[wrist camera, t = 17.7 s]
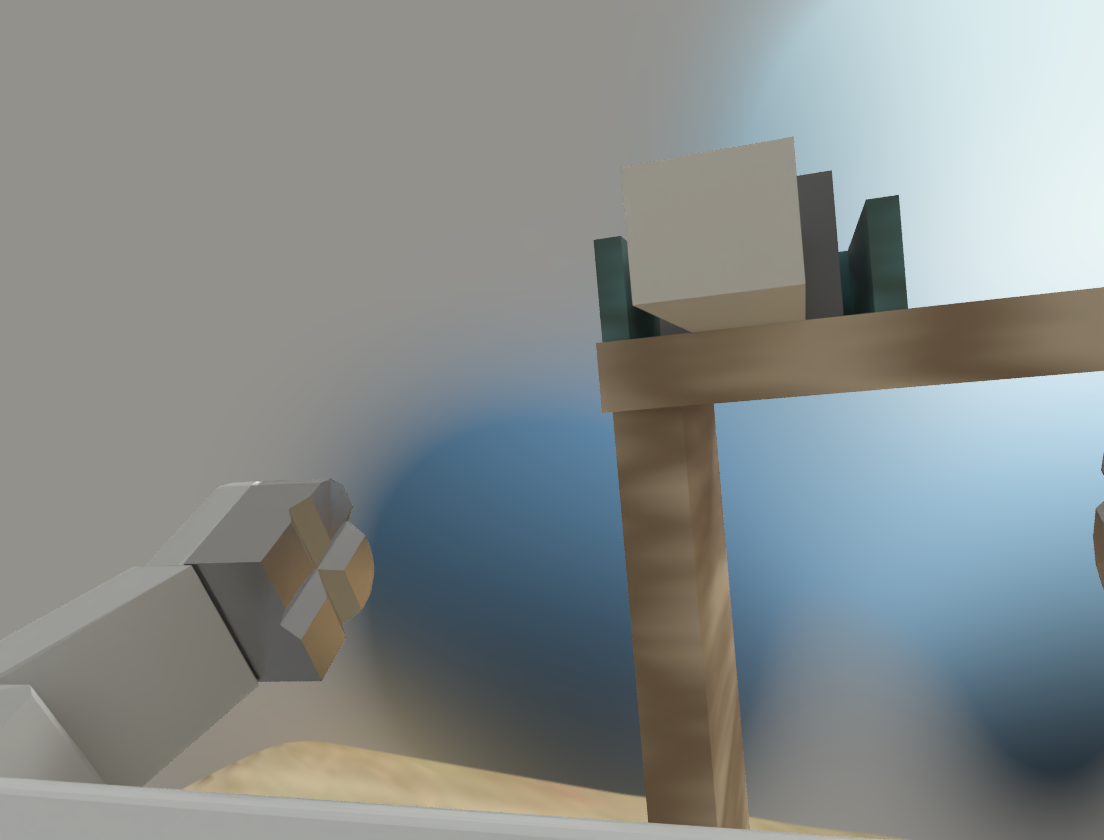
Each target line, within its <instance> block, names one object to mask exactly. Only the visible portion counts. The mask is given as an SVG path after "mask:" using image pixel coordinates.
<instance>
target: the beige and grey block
mask: <svg viewBox="0 0 1104 840" xmlns="http://www.w3.org/2000/svg"><path fill="white" fill-rule="evenodd" d="M621 176H622V188H623V200H624V212H625V223H626V235H627V247H628V258H629V270H630V281H631V293H632V305H633V306H635V307H638V308H640V309H642V310H644V311H646V312H648V313H651V314H653V315H655V316H657V317H659V320H660V332H661V336H666V335H675V334H684V333H693V332H702V331H711V330H720V329H729V328H738V327H748V326H757V325H766V324H775V323H784V322H793V321H802V320H811V319H820V318H829V317H838V316H844V314H843V302H842V290H841V278H840V266H839V253H838V241H837V229H836V217H835V205H834V193H833V181H832V171H825V172H819V173H813V174H807V175H800V176H797V175H796V163H795V152H794V140H793V137H789V138H784V139H778V140H772V141H767V142H761V143H755V144H749V145H743V146H738V147H732V148H726V149H720V150H715V151H709V152H703V153H698V154H692V155H687V156H680V157H675V158H669V159H664V160H657V161H652V162H646V163H640V164H635V165H629V166H623V167H621Z"/></svg>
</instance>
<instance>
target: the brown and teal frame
mask: <svg viewBox="0 0 1104 840" xmlns="http://www.w3.org/2000/svg"><path fill="white" fill-rule="evenodd" d="M901 231H902V230H901V218H900V205H899V195H895V196H889V197H882V198H875V199H868V200H866V201H865V204H864V207H863V210H862V212H861V215H860V218H859V221H858V224H857V226H856V229H855V232H854V235H853V238H852V241H851V244H850V246H849V249H848V251H843V252H838V253H839V266H840V278H841V290H842V302H843V314H844V316H838V317H829V318H820V319H811V320H802V321H793V322H784V323H775V324H766V325H757V326H748V327H738V328H729V329H720V330H711V331H702V332H693V333H684V334H675V335H666V336H661V332H660V320H659V317H657V316H655V315H653V314H651V313H648V312H646V311H644V310H642V309H640V308H638V307H635V306H633V305H632V293H631V281H630V270H629V258H628V247H627V241H626V240H625V239H624V238H622V237H621V236H618V237H611V238H605V239H597V240H594V248H595V261H596V271H597V283H598V295H599V307H600V318H601V330H602V341H603V342H602V343H596V347H597V359H598V371H599V382H600V394H601V405H602V413H606V412H613V420H614V432H615V443H616V455H617V466H618V477H619V489H620V501H621V513H622V524H623V536H624V546H625V559H626V570H627V582H628V593H629V604H630V616H631V628H632V639H633V651H634V662H635V674H636V685H637V695H638V696H637V697H638V707H639V720H640V731H641V743H642V755H643V766H644V778H645V789H646V801H647V812H648V823H661V824H675V825H689V826H703V827H718V828H732V829H746V830H750V826H749V815H748V802H747V791H746V779H745V767H744V755H743V743H742V732H741V720H740V708H739V697H738V685H737V673H736V661H735V650H734V637H733V626H732V615H731V602H730V590H729V578H728V567H727V555H726V543H725V532H724V521H723V508H722V496H721V485H720V472H719V461H718V449H717V437H716V425H715V413H714V403H725V402H737V401H749V400H761V399H773V398H783V397H784V398H785V397H797V396H809V395H821V394H832V393H844V392H856V391H868V390H880V389H891V388H904V387H916V386H927V385H939V384H951V383H962V382H974V381H987V380H999V379H1011V378H1022V377H1034V376H1045V375H1058V374H1069V373H1082V372H1093V371H1104V287H1103V288H1093V289H1084V290H1075V291H1066V292H1057V293H1049V294H1040V295H1029V296H1020V297H1011V298H1003V299H994V300H985V301H976V302H966V303H957V304H948V305H939V306H929V307H920V308H912V309H908V304H907V291H906V279H905V267H904V254H903V242H902V232H901Z"/></svg>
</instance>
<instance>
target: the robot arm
mask: <svg viewBox="0 0 1104 840" xmlns="http://www.w3.org/2000/svg"><path fill="white" fill-rule="evenodd" d="M1101 471H1102V473H1103V475H1104V456H1103V462H1102V468H1101ZM352 509H353V505H352V503H351V501H350V499H349V497H348V494H347V492H346V490H345V488H344V486H343V485H342V484H341V483H338V482H336V481H335V480H332V479H310V480H282V481H263V482H258V481H254V482H240V483H230V484H226V485H223V486H219V487H217V488H216V489H215V491H213V492H212V494H211V495H210V496H209V497H208V498H207V499H206V500H205V501H204V502H203V503H202V504H201V505H200V507H199V508H198V509H197V510H196V511H195V512H194V513H193V514H192V515H191V516H190V517H189V518H188V519H187V521H186V522H185V523H184V524H183V525H182V526H181V527H180V528H179V529H178V530H177V531H176V532H175V533H174V534H173V536H172V537H171V538H170V539H169V540H168V541H167V542H166V543H165V544H164V545H163V546H162V547H161V548H160V550H159V551H158V552H157V553H156V554H155V555H154V556H153V557H152V558H151V559H150V560H149V562H148V563H147V564H146V565H145V566H140V567H132V568H130V569H128V570H127V571H125V572H123V573H121V574H119V575H117V576H116V577H114V578H112V579H111V580H108V581H107V582H105V583H103V584H101V585H99V586H97V587H96V588H94V589H92V590H90V591H88V592H87V593H85V594H83V595H81V596H79V597H77V598H76V599H74V600H72V601H70V602H69V603H67V604H65V605H63V606H61V607H59V608H58V609H56V610H54V611H52V612H50V613H48V614H47V615H45V616H43V617H41V618H39V619H37V620H36V621H34V622H32V623H31V624H28V625H26V626H25V627H23V628H21V629H19V630H17V631H16V632H14V633H12V634H10V635H8V636H7V637H5V638H3V639H1V640H0V840H887V839H873V838H859V837H845V836H831V835H817V834H802V833H788V832H774V831H760V830H746V829H732V828H718V827H703V826H689V825H675V824H661V823H647V822H632V821H618V820H604V819H590V818H576V817H561V816H547V815H533V814H519V813H504V812H490V811H476V810H462V809H448V808H433V807H419V806H405V805H391V804H377V803H362V802H348V801H334V800H320V799H305V798H291V797H277V796H263V795H249V794H234V793H220V792H206V791H192V790H177V789H162V788H149V787H143V786H144V785H145V784H146V783H147V782H149V781H150V780H151V779H152V778H153V777H154V776H155V775H157V774H158V773H159V772H160V771H161V770H162V769H163V768H165V767H166V766H167V765H168V764H169V763H170V762H171V761H173V760H174V759H175V758H176V757H177V756H178V755H179V754H181V753H182V752H183V751H184V750H185V749H186V748H188V747H189V746H190V745H191V744H192V743H193V742H194V741H196V740H197V739H198V738H199V737H200V736H201V735H202V734H204V733H205V732H206V731H207V730H208V729H209V728H210V727H212V726H213V725H214V724H215V723H216V722H217V721H219V720H220V719H221V718H222V717H223V716H224V715H225V714H227V713H228V712H229V711H230V710H231V709H232V708H234V706H236V705H237V704H238V703H239V702H240V701H241V700H243V699H244V698H245V697H246V696H247V695H248V694H250V693H251V692H252V691H253V690H254V689H255V688H256V687H258V685H259V683H258V682H268V681H269V682H272V681H273V682H274V681H275V682H276V681H278V682H279V681H322V680H323V678H324V676H325V674H326V673H327V671H328V669H329V667H330V666H331V664H332V662H333V660H334V658H335V657H336V655H337V653H338V651H339V650H340V648H341V646H342V644H343V643H344V641H345V639H346V636H345V632H344V628H343V623H345V622H346V621H347V620H349V619H350V618H352V617H353V616H354V615H356V614H357V613H358V612H360V611H361V610H362V608H363V606H364V605H365V603H366V601H367V599H368V597H369V595H370V593H371V587H372V581H373V575H374V564H373V557H372V551H371V548H370V546H369V543H368V541H367V538H366V536H365V535H364V534H363V533H362V532H361V531H359V530H358V529H357V528H356V527H355V526H353V525H352V524H351V523H350V522H348V520H349V517H350V514H351V511H352ZM1093 540H1094V550H1095V561H1096V566H1097V570H1098V573H1099V577H1100V580H1101V583H1102V586H1103V589H1104V502H1102V503H1101V504H1100V505H1099V506H1098V507H1097V508H1096V513H1095V523H1094V533H1093Z"/></svg>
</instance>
